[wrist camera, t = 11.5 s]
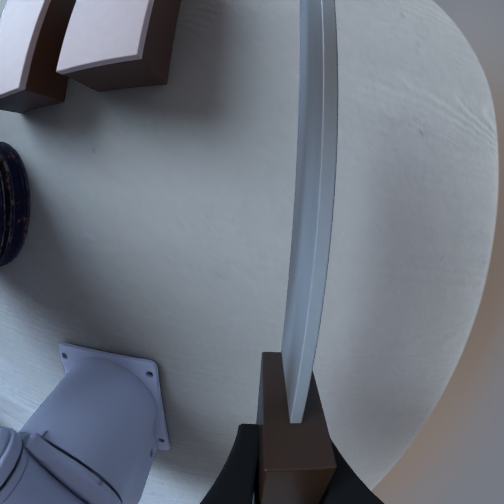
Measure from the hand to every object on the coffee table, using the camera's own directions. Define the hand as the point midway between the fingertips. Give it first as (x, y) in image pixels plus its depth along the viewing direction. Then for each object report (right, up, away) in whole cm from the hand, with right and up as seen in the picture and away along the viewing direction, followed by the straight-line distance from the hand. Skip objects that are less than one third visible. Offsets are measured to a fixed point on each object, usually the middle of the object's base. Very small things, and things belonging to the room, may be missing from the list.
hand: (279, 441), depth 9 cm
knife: (0, +7, 0) cm, 7 cm away
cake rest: (-15, +21, +4) cm, 26 cm away
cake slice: (-8, +21, +4) cm, 22 cm away
